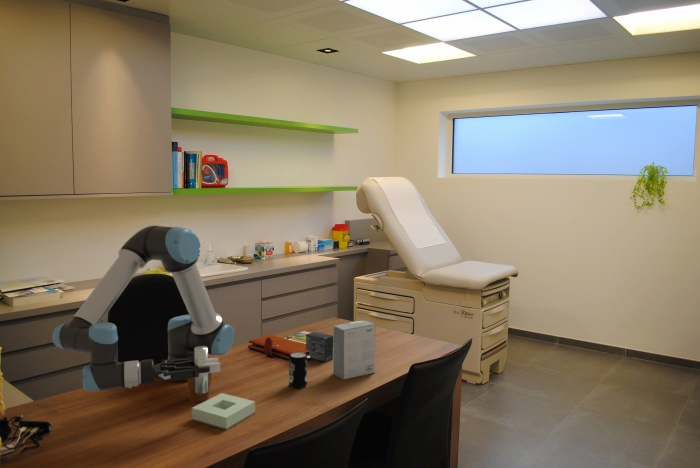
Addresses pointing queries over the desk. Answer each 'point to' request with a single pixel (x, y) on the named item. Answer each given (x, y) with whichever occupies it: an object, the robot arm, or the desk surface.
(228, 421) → the socket block
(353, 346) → the hard drive box
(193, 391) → the disposable coffee cup
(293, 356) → the beverage can
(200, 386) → the pin
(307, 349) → the small box
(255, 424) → the desk surface
